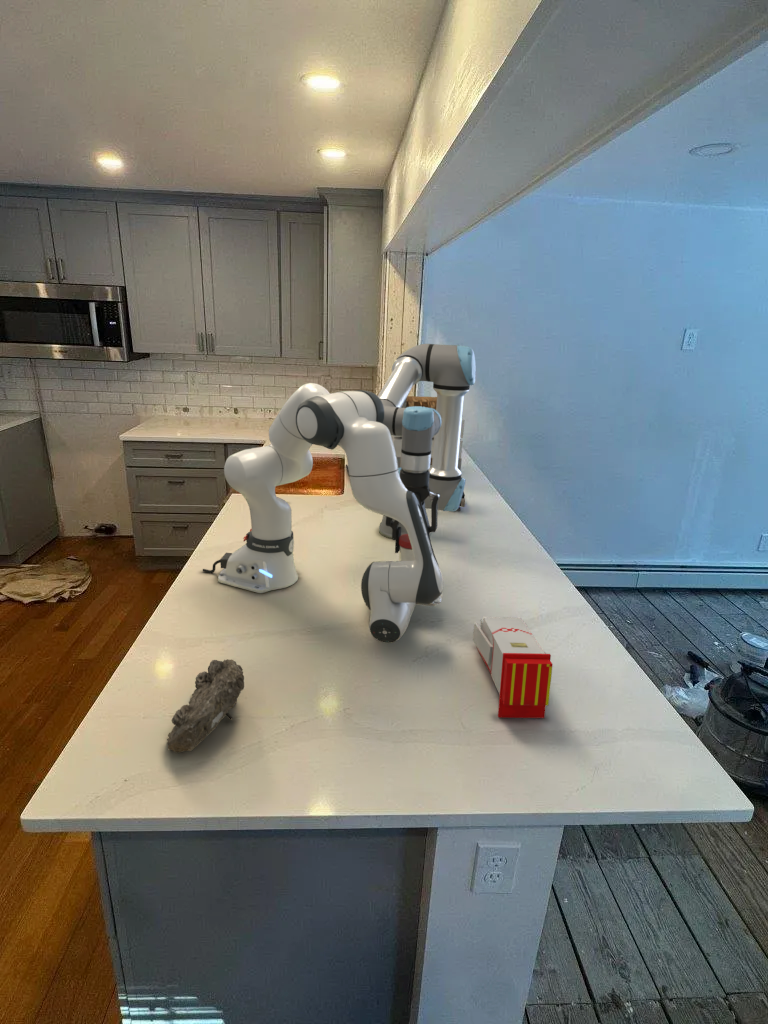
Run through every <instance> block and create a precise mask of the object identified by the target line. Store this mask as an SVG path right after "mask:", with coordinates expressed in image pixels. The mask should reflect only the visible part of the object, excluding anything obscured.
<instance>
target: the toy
mask: <svg viewBox="0 0 768 1024" xmlns="http://www.w3.org/2000/svg"><path fill="white" fill-rule="evenodd" d="M482 617H483V618H482V619H480V624H478V623H477V622H474V625H473V633H472V641H473V643H474V645H475V647H476V649H477V651H478V653H479V655H480V656H481V658H482V660H483V663H484V664H485V666H486V668H487V670H488V673H489V674H490V675H491V676H490V677H491V679H492V680H493V683H494V685H495V688H496V690H497V692H498V694H499V696H498V697H499V698H498V707H497V708H498V711H497V718H500V719H501V718H504V719H505V718H507V719H509V718H511V719H513V718H514V719H545V716H546V715H545V714H546V706H549V703H550V693H551V684H552V683H551V682H552V673H553V662H552V661H551V653H545V651H544V649H543V647H542V646H541V645H540V643H539V642H538V640H537V639H536V638H535V636H534V635H533V633H532V631H531V630H530V629H529V627H528V624H527V622H525V621H524V620H523V619H522V617H511V616H510V617H508V616H507V617H504V616H482Z"/></svg>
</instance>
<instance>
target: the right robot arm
mask: <svg viewBox="0 0 768 1024" xmlns="http://www.w3.org/2000/svg"><path fill="white" fill-rule="evenodd" d="M476 365H477V364H476V356H475V351H474V349H473V348H472V347H470V346H466V345H465V346H464V345H459V344H440V343H439V344H438V343H437V344H436V343H435V344H434V343H421V344H417V345H415V346H412V347H411V348H409V349H407V350H405V351H403V352H402V353H401V354H399V356H397V358H396V359H395V360H394V362H393V364H392V367H391V373H390V375H389V377H388V378H387V380H386V381H385V383H384V385H383V386H382V388H381V390H379V393H378V394H377V396H378V397H379V398H380V400H381V402H382V404H383V407H384V420H383V423H382V424H384V425H385V426H387V428H388V429H389V431H390V434H391V435H395V436H402V448H401V462H400V467H401V468H398V471H399V475H400V478H401V481H402V483H403V484H404V486H405V487H406V489H407V490H409V491H411V492H413V493H414V494H415V496H416V497H417V499H418V502H419V504H420V507H421V510H422V513H423V517H424V520H425V523H426V527H427V530H428V534H429V537H430V535H431V533H436V532H437V529H438V515H439V514H438V511H443V512H456V511H457V510H459V509H458V507H459V505H460V502H461V499H462V495H463V491H465V486H466V479H465V478H464V477H462V470H461V471H460V470H459V469H458V456H459V445H460V439H461V438H460V433H461V422H462V419H463V410H464V399H465V395H466V394H467V393H468V392H470V388H471V386H474V385H475V383H476V375H477V374H476V372H477V371H476V370H477V368H476ZM419 382H429V383H432V389H433V390H434V391H435V393H436V397H437V404H436V410H435V409H433V408H428V407H421V406H412V407H407V408H401V407H402V405H403V403H404V402H405V400H406V398H407V396H409V394H410V393H411V390H412V388H413V387H414V386H415V385H416V384H418V383H419ZM433 436H434V444H433V457H432V465H430V460H431V445H432V437H433ZM345 468H346V472H347V475H348V476H349V470H348V464H345ZM427 509H428V510H431V511H430V512H431V513H430V514H431V517H430V518H431V521H430V520H429V516H428V512H427ZM378 533H379V534H380V535H381V536H382V537H385V538H387V539H389V540H392V541H395V545H394V546H395V547H394V554H399V550H400V545H399V537H400V536H401V535H404V534H408V532H407V530H406V528H405V527H404V526H403V525H402V524H401V523H400V522H398V521H397V520H395V519H393V518H390V517H388V516H385V515H382V519H381V522H379V526H378Z"/></svg>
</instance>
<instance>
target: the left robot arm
mask: <svg viewBox="0 0 768 1024" xmlns="http://www.w3.org/2000/svg"><path fill="white" fill-rule="evenodd" d="M383 420H384V407H383V404H382V402H381V400H380V398H379V397H378V394H376V393H374V392H372V391H369V390H364V389H357V390H346V391H336V392H332V393H330V392H329V390H327V388H326V387H324V386H323V385H321V384H319V383H316V382H315V383H314V382H308V383H304V384H302V385H301V386H299V388H297V389H296V390H295V391H294V392H293V393H292V394H291V396H290V397H289V398H288V399H287V400H286V401H285V403H284V404H283V405H282V407H281V409H280V411H279V412H278V414H277V415H276V416H275V418H274V419H273V421H272V423H271V424H270V426H269V429H268V439H269V443H270V444H268V445H265V446H264V445H263V446H259V447H258V446H257V447H252V448H245V449H242V450H240V451H238V452H235V453H233V454H231V455H229V456H228V457H227V458H226V460H225V462H224V467H223V471H224V472H223V475H224V478H225V480H226V482H227V484H228V486H229V487H231V488H232V489H233V490H234V491H236V492H237V493H239V494H240V495H242V496H243V498H244V499H245V501H246V502H247V505H248V508H249V514H250V525H251V527H250V530H249V531H248V532H247V533H246V535H245V536H244V537H243V538H242V539H243V542H246V543H245V544H243V545H241V546H240V547H239V548H237V549H236V550H234V551H233V552H225V553H224V554H223V555H222V556H221V558H220V559H217V560H215V561H214V562H213V563H212V568H211V569H207V568H202V572H203V573H208V574H213V573H214V572H216V566H217V565H218V564H220V569H222V570H220V572H219V573H218V577H217V578H218V579H217V581H218V583H221V584H223V585H228V586H232V587H235V588H240V589H243V590H245V591H246V590H247V591H249V592H255V593H257V594H264V593H267V592H270V591H275V590H281V589H285V588H288V587H291V586H293V585H294V584H296V582H298V580H299V574H298V571H297V568H296V564H295V558H294V557H295V556H294V551H295V549H294V548H295V539H294V531H293V527H292V525H293V523H292V522H293V521H292V520H293V519H292V517H293V516H292V511H293V509H292V507H291V506H290V504H289V502H288V501H286V500H285V499H284V498H282V497H278V496H277V494H276V487H279V486H283V485H286V484H291V483H295V482H297V481H299V480H302V479H304V478H306V477H308V476H309V475H310V474H311V472H312V470H313V466H314V459H313V455H312V453H311V451H310V449H311V447H312V446H313V445H315V446H320V447H324V448H326V449H328V450H331V451H332V450H335V449H336V448H337V447H338V446H339V448H341V449H342V451H344V453H345V455H346V458H347V466H348V470H349V475H348V477H349V484H350V489H351V490H350V491H351V493H352V496H353V498H354V500H355V501H356V502H357V503H358V504H359V505H360V506H361V507H363V508H364V509H366V510H367V511H370V512H372V513H375V514H377V515H378V514H379V515H382V516H383V515H385V516H388V517H390V518H393V519H395V520H397V521H398V522H400V523H401V524H402V525H403V526H404V527H405V528H406V530H407V532H408V536H409V539H410V543H411V546H412V549H413V553H414V556H415V560H412V561H399V560H381V561H372V562H371V563H370V564H369V565H368V566H367V567H366V569H364V570H365V571H364V572H363V574H362V578H361V583H360V589H361V590H360V591H361V596H362V600H363V602H364V604H365V606H366V607H367V608H368V610H369V611H370V617H369V623H368V628H369V632H370V635H371V636H372V637H373V638H374V639H375V640H377V641H378V642H381V643H386V644H389V643H396V642H397V641H399V640H400V639H401V638H402V637H403V635H404V634H405V633H406V631H407V629H408V626H409V625H410V622H411V617H412V615H413V612H414V611H415V607H416V605H419V606H426V607H435V606H437V605H440V604H441V603H442V601H443V600H442V597H443V591H444V578H443V574H442V570H441V569H440V566H439V563H438V560H437V558H436V555H435V552H434V548H433V544H432V541H431V538H430V537H429V534H428V530H427V527H426V523H425V520H424V517H423V513H422V510H421V507H420V504H419V502H418V499H417V497H416V496H415V494H414V493H413V492H411V491H409V490H407V489H406V487H405V486H404V484H403V483H402V481H401V478H400V475H399V471H398V463H397V457H396V452H395V447H394V444H393V440H392V437H391V434H390V431H389V429H388V428H387V426H385V425H384V424H382V423H383Z"/></svg>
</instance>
